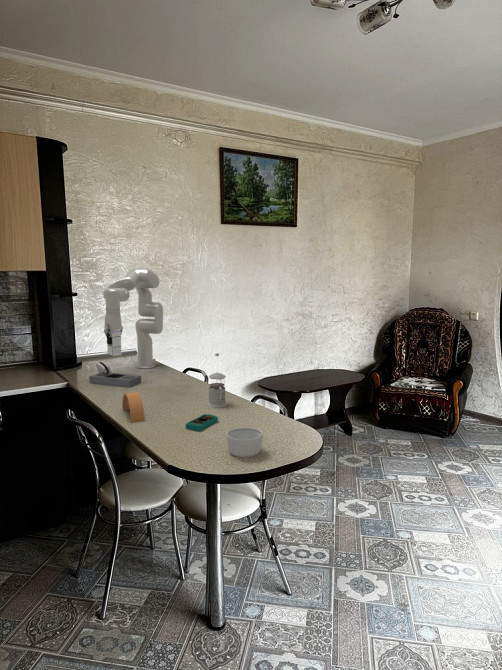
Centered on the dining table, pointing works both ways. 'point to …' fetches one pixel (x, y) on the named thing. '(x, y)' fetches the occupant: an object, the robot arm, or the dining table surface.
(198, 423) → the digital multimeter
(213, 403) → the french press
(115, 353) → the syrup box
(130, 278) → the robot arm
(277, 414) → the dining table surface
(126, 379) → the gray compartment tray
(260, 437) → the ramekin
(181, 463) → the dining table surface
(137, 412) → the arch
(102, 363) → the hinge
